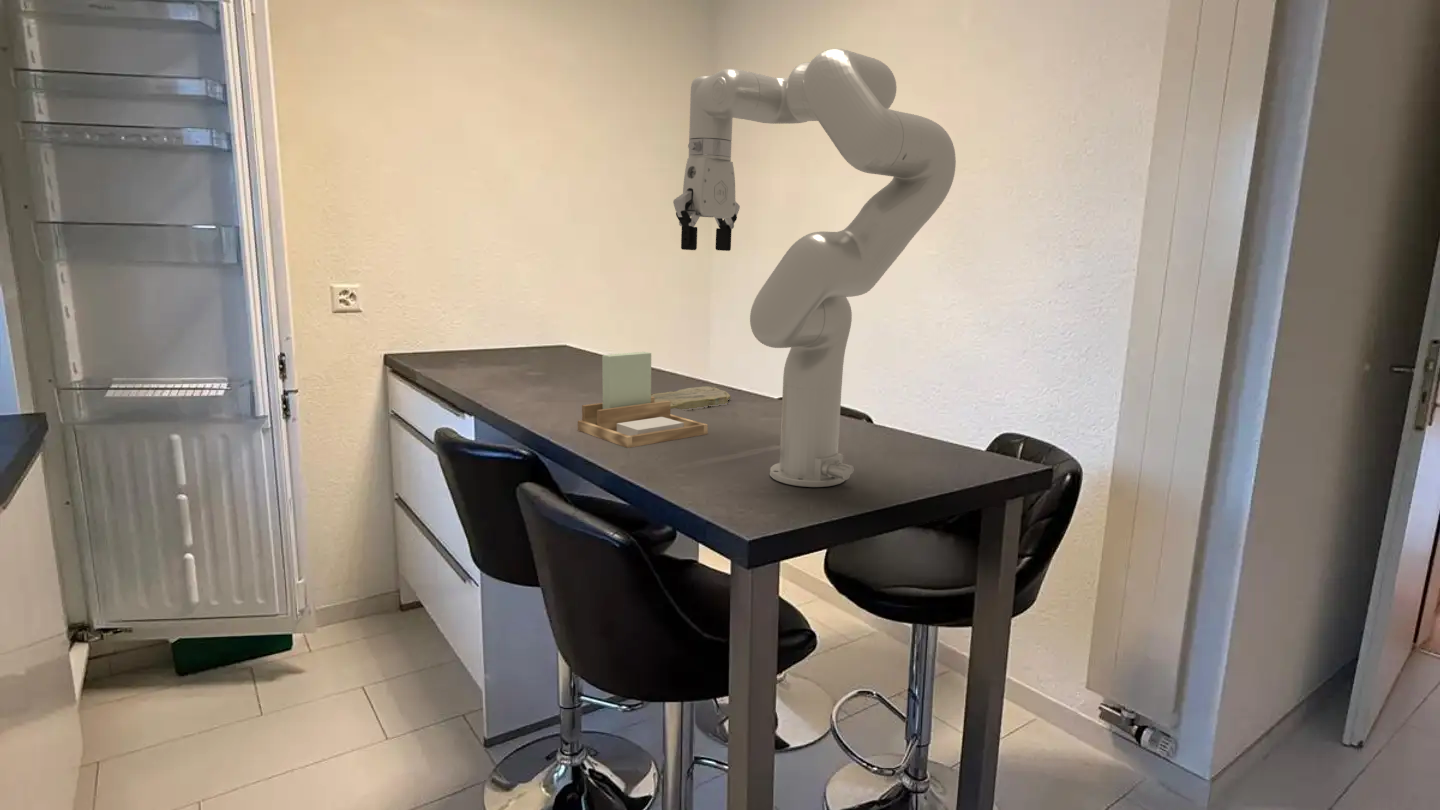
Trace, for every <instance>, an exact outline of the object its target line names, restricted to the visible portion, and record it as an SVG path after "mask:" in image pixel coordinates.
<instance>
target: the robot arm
mask: <svg viewBox="0 0 1440 810" xmlns="http://www.w3.org/2000/svg"><path fill="white" fill-rule="evenodd" d="M896 96H897V81H896V77H895V75H894V73H893V70H891V68H890V67H889V66H888V65H886V63H884V62H883V61H881V60H879V59H876V58H875V57H872V56H868V55H864V54H860V53H857V52H853V51H851V50H848V49H843V48H830V49H827V50H825V51H821V52H820V53H818V54H817V55H816V56H814V58H812V59H811V60H810V61H807V62H801V63H800V64H798V65H797V66H795V67H793V69H792V71H791V72H790V74H789V75H788V77H773V76H769V75H765V74H761V73H756V72H752V71H747V70H744V69H743V70H742V69H738V68H725V69H721V70H720V71H719V70H718V72H715V73H714V74H712V75H701V76H697V77H696V78H694V79H693V80H692V81H691V85H690V99H689V101H690V103H689V131H688V132H689V133H688V135H689V136H688V145H687V148H688V158H687V160H686V166H685V169H684V176H683V177H684V178H683V184H682V185H683V187H682V193H681V194H680V195H679V196H677V197H676V198H674V199H673V206H674V211H675V216H676V218H677V219H678V225H679V226H680V227H681V234H680V236H681V238H680V249H681V250H684V251H697V248H698V227H697V226H696V224H697V222H698V221H699V219H700V217H701V218H714V220H715V222H716V224H717V228H715V229H716V230H715V250H716V251H721V252H722V251H724V252H725V251H726V252H730V251H731V248H732V231H733V230H732V229H734V227H735V223H736V221H737V219H738V214H739V211H740V210H741V209H740V208H741V207H740V205H739V203H738V202H737V201H736V177H735V168H734V163H733V161H732V144H733V143H732V141H733V140H732V139H733V138H732V137H733V118H734V119H739V120H740V119H741V120H746V121H752V122H757V123H762V124H772V125H773V124H779V125H780V124H783V125H784V124H804V123H807V122H818V123H819V124H820V126H821V128H822V129H823V130H824V132H825V133H826V134H827V136H828V138H829V139H830V140H831V142H832V143H833V145H834V147H835V148H836V149H837V151H838V152H839V154H840V155H841V156H842V158H843V159H844V160H845V161H846V163H848V164H849V165H850V166H851V167H853V168H854V169H856V170H857V171H859V172H862V173H864V174H865V173H867V174H871V175H879V176H886V177H893V178H892V179H891V180H890V181H889V182H888V183H887V184H886V185H885V186H884V187H883V188H881V189H880V190H879V191H877V192H876V193H874V195H872V196H871V198H869V199H868V201H866V203H864V205H863V206H862V208H861V209H860V210H859V212H858V214H857V215H856V216H855V217H854V219H853V220H852V221H851V222H850V223H849V224H848V226H846V227H844V229H842V230H839V231H814V232H810V233H808V234H805V235H803V236H802V237H801V238H798V240H796V241H795V242H794V243H793V244H792V245H791V246H790V247H789V248H788V250H787V251H786V252H785V254H784V255H783V257H782V258H781V260H780V261H779V262H778V264H777V265H776V267H774V269H773V271H772V273H771V274H770V275H769V277H768V278H767V280H765V282H764V284H763V285H762V287H761V288H760V290H759V291H758V293H757V294H756V296H755V298H754V300H753V303H752V306H751V309H750V314H749V324H750V329H751V332H752V334H753V335H754V337H755V338H756V340H757V341H758V342H759V343H761V344H762V345H764V346H766V347H769V348H775V349H788V348H790V350H789V352H788V354H787V357H786V360H785V364H784V368H783V374H782V375H783V377H782V379H783V380H782V398H781V403H782V404H781V419H780V421H781V425H780V426H781V427H780V449H779V462H777V463H774V464H773V465H772V466H770V468H769V476H770V478H771V479H773V480H775V481H777V482H779V483H781V484H786V485H790V486H796V487H805V488H806V487H808V488H824V487H833V486H838V485H841V484H842V483H844V482H845V481H848V480H849V479H850V477H851V475H852V474H853V473H854V472H855V471H854V470H855V468H854V466H853V465H851V464H847V463H844V462H843V459H844V454H843V453H840V452H839V444H840V443H839V440H840V439H839V438H840V422H841V403H842V389H843V388H842V387H843V386H842V385H843V374H844V373H843V372H844V362H845V361H844V360H845V353H846V347H847V344H848V339H849V336H850V332H851V326H852V321H853V319H852V317H853V312H852V307H851V304H850V301H849V299H848V298H850V297H859V296H862V295H864V294H867V293H868V292H869V291H871V290H872V289H873V288H874V287H875V286H876V285H877V283H878V282H879V281H880V280H881V279H882V277H883V276H884V275H885V274H886V273H887V271H888V270H889V268H890V267H891V266H892V265H893V264H894V262H895V261H896V260H897V259H898V257H899V256H900V255H901V254H902V253H903V251H904V250H905V249H906V248H907V246H908V245H909V243H910V242H911V241H912V239H913V238H914V237H915V236H916V235H917V234H918V233H919V231H920V230H921V229H922V228H923V227H924V225H925V224H926V223H927V222H928V221H929V220H931V219H930V218H932V216H933V215H934V214H935V213H936V212H937V211H938V210H939V208H940V206H942V204H943V202H944V201H945V199H946V198H947V196H948V194H949V192H950V189H951V188H952V185H953V182H954V178H955V174H956V168H957V167H956V165H957V161H956V150H955V147H954V143H953V141H952V138H951V137H950V135H949V133H948V131H946V129H945V128H944V127H943V126H942V125H941V124H939V123H937V122H936V121H934V120H932V119H930V118H927V117H924V116H921V115H919V114H918V115H917V114H913V113H908V112H903V111H899V110H896V109H895V110H894V109H890V107H891V106H892V105H893V103H894V101H895V99H896Z"/></svg>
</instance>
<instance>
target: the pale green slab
mask: <svg viewBox="0 0 1440 810" xmlns="http://www.w3.org/2000/svg"><path fill="white" fill-rule="evenodd" d="M601 357H602V358H601V359H602V362H601V363H602V369H601V370H602V371H601V372H602V374H601V375H602V376H601V377H602V379H601V380H602V381H601V383H602V403H603V409H608V408H616V407H623V406H631V405H639V404H646V403H651V394H652V352H646V351H639V352H638V351H637V352H626V353H625V352H624V353H613V354H612V353H611V354H610V353H609V354H603V355H602V356H601Z"/></svg>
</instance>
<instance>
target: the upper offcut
mask: <svg viewBox="0 0 1440 810" xmlns="http://www.w3.org/2000/svg"><path fill="white" fill-rule="evenodd" d="M681 427H684V423H683V422H679V421H676V420H672V419H668V418H665V417H657V418H650V419H643V420H637V421H630V422H623V423H617V432H619V433H622V434H625V435H628V436H631V435H637V434H644V433H650V432H656V431H662V430H668V429H675V428H681Z"/></svg>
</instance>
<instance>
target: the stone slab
mask: <svg viewBox="0 0 1440 810" xmlns="http://www.w3.org/2000/svg"><path fill="white" fill-rule="evenodd" d="M651 397H655V402H661V401H671V407H670V410H672V409H678V410H681V411H683V410H682V409H689V408H697V407H704V406H709V405H718V404H725V403H728V404H729V401H728V399H730V400H731V398H732V397H731V395H730V393H728V392H727V391H726V390H723V389H722V390H721V389H720V388H717V387H714V386H712V387H711V386H710V385H709V386H705V385H704V386H696V387H686V388H683V389H681V388H680V389H678V390H676V391H667V392H657V393H651Z"/></svg>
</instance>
